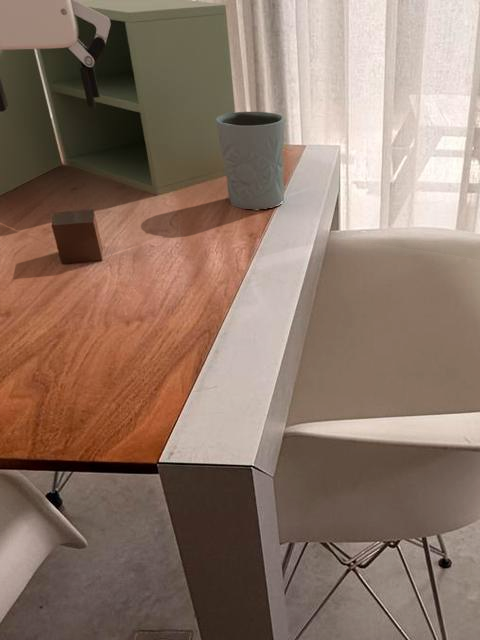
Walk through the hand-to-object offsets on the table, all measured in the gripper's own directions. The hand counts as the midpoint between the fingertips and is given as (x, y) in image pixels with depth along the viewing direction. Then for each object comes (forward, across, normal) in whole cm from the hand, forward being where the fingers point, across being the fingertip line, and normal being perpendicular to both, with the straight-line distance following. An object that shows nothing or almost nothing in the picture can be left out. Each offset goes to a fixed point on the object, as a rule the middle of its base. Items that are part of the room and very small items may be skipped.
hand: (48, 107), depth 79 cm
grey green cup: (+18, -26, -17) cm, 36 cm away
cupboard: (+17, -10, -39) cm, 44 cm away
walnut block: (+18, 0, 0) cm, 18 cm away
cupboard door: (+17, +14, -34) cm, 41 cm away
